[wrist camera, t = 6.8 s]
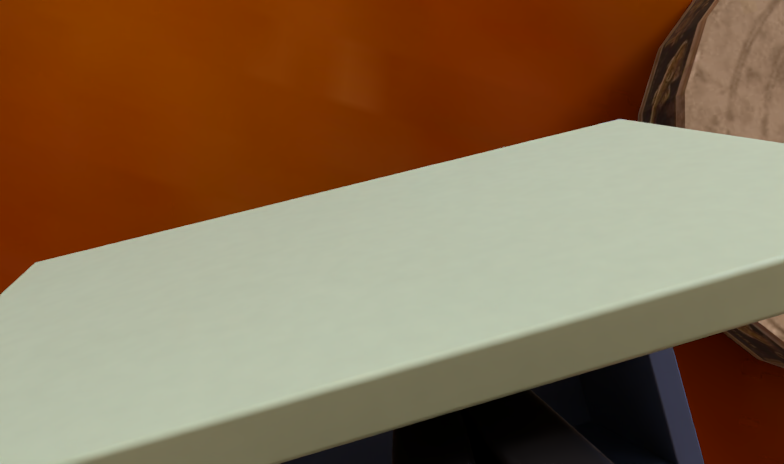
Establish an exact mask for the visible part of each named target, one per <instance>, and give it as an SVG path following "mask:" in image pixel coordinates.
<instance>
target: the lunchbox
mask: <svg viewBox="0 0 784 464" xmlns="http://www.w3.org/2000/svg"><path fill="white" fill-rule="evenodd" d="M531 390H532V391H533V392H534V393H535V394H536V395H537V396H539V397H540V398H541V399H542V400H543V401H544V402H545V403H546V404H548V405H549V406H550V407H551V408H552V409H553V410H554V411H556V412H557V413H558V414H559V415H560V416H561V417H562V418H563V419H565V420H566V421H567V422H568V423H569V424H570V425H571V426H572V427H574V428H575V429H576V430H577V431H578V432H579V433H580V434H581V435H583V436H584V437H585V438H586V439H587V440H588V441H589V442H590V443H592V444H593V445H594V446H595V447H596V448H597V449H598V450H599V451H601V452H602V453H603V454H604V455H605V456H606V457H607V458H608V459H610V460H611V461H612V462H613V463H614V464H704V460H703V456H702V453H701V449H700V445H699V442H698V438H697V434H696V431H695V427H694V423H693V420H692V416H691V412H690V409H689V405H688V401H687V398H686V394H685V390H684V387H683V383H682V379H681V376H680V372H679V368H678V365H677V361H676V357H675V354H674V350H673V347H671V348H667V349H664V350H661V351H657V352H654V353H651V354H647V355H644V356H640V357H637V358H634V359H630V360H627V361H624V362H620V363H617V364H613V365H610V366H607V367H603V368H600V369H597V370H593V371H590V372H587V373H583V374H580V375H576V376H573V377H570V378H566V379H563V380H560V381H556V382H553V383H549V384H546V385H543V386H539V387H536V388H533V389H531ZM392 442H393V430H391V431H388V432H384V433H381V434H378V435H374V436H371V437H367V438H364V439H361V440H357V441H354V442H351V443H347V444H344V445H341V446H337V447H334V448H330V449H327V450H324V451H320V452H317V453H314V454H310V455H307V456H303V457H300V458H297V459H293V460H290V461H287V462H283V463H280V464H392Z"/></svg>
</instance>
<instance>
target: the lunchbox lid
mask: <svg viewBox="0 0 784 464" xmlns="http://www.w3.org/2000/svg"><path fill="white" fill-rule="evenodd" d="M782 314H784V143H778V142H772V141H765V140H758V139H752V138H745V137H738V136H731V135H725V134H718V133H711V132H705V131H698V130H691V129H684V128H678V127H671V126H664V125H657V124H651V123H644V122H637V121H631V120H624V119H618V120H614V121H610V122H605V123H601V124H597V125H593V126H589V127H585V128H581V129H577V130H573V131H569V132H565V133H561V134H557V135H553V136H549V137H544V138H540V139H536V140H532V141H528V142H524V143H520V144H516V145H512V146H508V147H504V148H500V149H496V150H492V151H488V152H483V153H479V154H475V155H471V156H467V157H463V158H459V159H455V160H451V161H447V162H443V163H439V164H435V165H431V166H426V167H422V168H418V169H414V170H410V171H406V172H402V173H398V174H394V175H390V176H386V177H382V178H378V179H374V180H370V181H365V182H361V183H357V184H353V185H349V186H345V187H341V188H337V189H333V190H329V191H325V192H321V193H317V194H313V195H308V196H304V197H300V198H296V199H292V200H288V201H284V202H280V203H276V204H272V205H268V206H264V207H260V208H256V209H252V210H247V211H243V212H239V213H235V214H231V215H227V216H223V217H219V218H215V219H211V220H207V221H203V222H199V223H195V224H191V225H186V226H182V227H178V228H174V229H170V230H166V231H162V232H158V233H154V234H150V235H146V236H142V237H138V238H134V239H129V240H125V241H121V242H117V243H113V244H109V245H105V246H101V247H97V248H93V249H89V250H85V251H81V252H77V253H73V254H68V255H64V256H60V257H56V258H52V259H48V260H44V261H40V262H36V263H35V264H33V265H32V266H31V267H30V268H29V269H28V270H27V271H26V272H24V273H23V274H22V275H21V276H20V277H19V278H18V279H17V280H16V281H15V282H14V283H12V284H11V285H10V286H9V287H8V288H7V289H6V290H5V291H4V292H3V293H1V294H0V464H280V463H283V462H287V461H290V460H293V459H297V458H300V457H303V456H307V455H310V454H314V453H317V452H320V451H324V450H327V449H330V448H334V447H337V446H341V445H344V444H347V443H351V442H354V441H357V440H361V439H364V438H367V437H371V436H374V435H378V434H381V433H384V432H388V431H391V430H394V429H398V428H401V427H405V426H408V425H411V424H415V423H418V422H421V421H425V420H428V419H432V418H435V417H438V416H442V415H445V414H448V413H452V412H455V411H458V410H462V409H465V408H469V407H472V406H475V405H479V404H482V403H485V402H489V401H492V400H496V399H499V398H502V397H506V396H509V395H512V394H516V393H519V392H523V391H526V390H529V389H533V388H536V387H539V386H543V385H546V384H549V383H553V382H556V381H560V380H563V379H566V378H570V377H573V376H576V375H580V374H583V373H587V372H590V371H593V370H597V369H600V368H603V367H607V366H610V365H613V364H617V363H620V362H624V361H627V360H630V359H634V358H637V357H640V356H644V355H647V354H651V353H654V352H657V351H661V350H664V349H667V348H671V347H674V346H678V345H681V344H684V343H688V342H691V341H694V340H698V339H701V338H704V337H708V336H711V335H715V334H718V333H721V332H725V331H728V330H731V329H735V328H738V327H742V326H745V325H748V324H752V323H755V322H758V321H762V320H765V319H769V318H772V317H775V316H779V315H782Z"/></svg>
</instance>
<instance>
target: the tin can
mask: <svg viewBox="0 0 784 464" xmlns="http://www.w3.org/2000/svg"><path fill="white" fill-rule="evenodd" d="M638 122H644V123H651V124H657V125H664V126H671V127H678V128H684V129H691V130H698V131H705V132H711V133H718V134H725V135H731V136H738V137H745V138H752V139H758V140H765V141H772V142H778V143H784V0H693V2H692V3H691V4H690V6H689V7H688V8H687V10H686V11H685V13H684V14H683V15H682V17H681V18H680V20H679V21H678V22H677V24H676V25H675V27H674V28H673V29H672V31H671V32H670V34H669V35H668V36H667V38H666V39H665V40H664V42H663V43H662V45H661V46H660V47H659V49H658V52H657V55H656V58H655V61H654V65H653V68H652V71H651V74H650V78H649V81H648V84H647V87H646V91H645V94H644V97H643V100H642V104H641V107H640V110H639V113H638ZM723 333H724V334H726V335H727V336H728V337H729V338H731V339H732V340H733V341H735V342H736V343H737V344H738V345H740V346H741V347H742V348H744V349H745V350H746V351H747V352H749V353H750V354H751V355H753V356H754V357H755V358H756V359H759V360H761V361H764V362H767V363H770V364H773V365H776V366H779V367H781V368H784V314H782V315H779V316H775V317H772V318H769V319H765V320H762V321H758V322H755V323H752V324H748V325H745V326H742V327H738V328H735V329H731V330H728V331H725V332H723Z"/></svg>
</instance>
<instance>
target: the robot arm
mask: <svg viewBox="0 0 784 464" xmlns="http://www.w3.org/2000/svg"><path fill="white" fill-rule="evenodd" d="M392 464H614V463H613V462H612V461H611V460H610V459H608V458H607V457H606V456H605V455H604V454H603V453H602V452H601V451H599V450H598V449H597V448H596V447H595V446H594V445H593V444H592V443H590V442H589V441H588V440H587V439H586V438H585V437H584V436H583V435H581V434H580V433H579V432H578V431H577V430H576V429H575V428H574V427H572V426H571V425H570V424H569V423H568V422H567V421H566V420H565V419H563V418H562V417H561V416H560V415H559V414H558V413H557V412H556V411H554V410H553V409H552V408H551V407H550V406H549V405H548V404H546V403H545V402H544V401H543V400H542V399H541V398H540V397H539V396H537V395H536V394H535V393H534V392H533V391H532V390H531V389H529V390H526V391H523V392H519V393H516V394H512V395H509V396H506V397H502V398H499V399H496V400H492V401H489V402H485V403H482V404H479V405H475V406H472V407H469V408H465V409H462V410H458V411H455V412H452V413H448V414H445V415H442V416H438V417H435V418H432V419H428V420H425V421H421V422H418V423H415V424H411V425H408V426H405V427H401V428H398V429H394V430H393V442H392Z"/></svg>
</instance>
